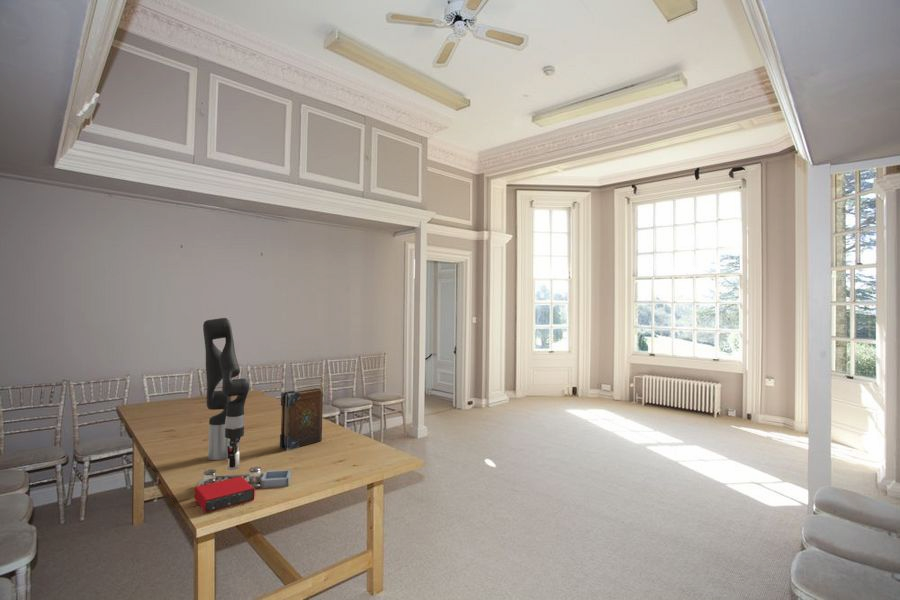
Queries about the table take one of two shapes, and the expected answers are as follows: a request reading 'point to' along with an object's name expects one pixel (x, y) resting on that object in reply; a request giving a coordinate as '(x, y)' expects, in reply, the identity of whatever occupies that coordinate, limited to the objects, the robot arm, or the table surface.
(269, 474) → the tray
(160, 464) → the table surface
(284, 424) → the decorative book
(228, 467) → the halved boiled egg
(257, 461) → the table surface
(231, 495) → the red device housing
